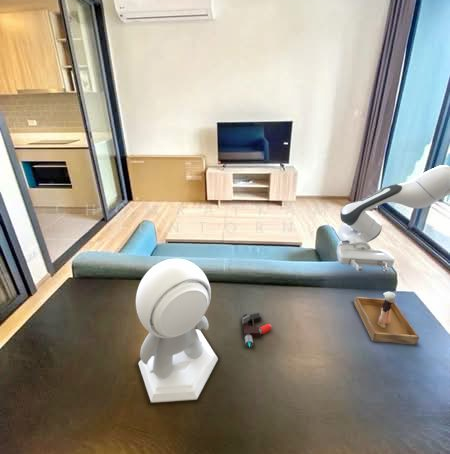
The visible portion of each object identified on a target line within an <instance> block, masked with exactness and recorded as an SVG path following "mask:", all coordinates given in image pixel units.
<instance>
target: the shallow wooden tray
mask: <svg viewBox="0 0 450 454" xmlns="http://www.w3.org/2000/svg"><path fill="white" fill-rule="evenodd" d="M385 300H386V299H385V298H382V297H381V298H380V297H379V298H378V297H367V296H366V297H365V296H355V298H354V301H353V305H354V307H355V308H356V311H357V313H358V314H359V317H360V319H361V321H362V322H363V324H364V327H365V329H366V331H367V333H368V335H369V337H370V339H371V341H372V342H380V343H381V342H382V343H394V344H404V345H405V344H406V345H418V342H419V340H420V336H419V334H418V333H417V332H416V330H415V329H414V327H413V326H412V324H411V323H410V322H409V320H408V319H407V317H406V316H405V314H404V313H403V311H402V310H401V309H400V307H399V306H398V304H397V303H396V302H395V301H396V300H394V302H392V304H391V308H390V312H391V313H390V323H389V324H386V323H385V325H386V328H382V327H381V326H379V325H378V324H377V321H378V320H379V319H378V318H379V317H380V315H381V310H382V305H383V302H384V301H385Z"/></svg>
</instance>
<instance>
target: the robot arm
mask: <svg viewBox="0 0 450 454" xmlns="http://www.w3.org/2000/svg"><path fill="white" fill-rule="evenodd" d="M449 195H450V166H449V165H445V164H444V165H442V164H441V165H438V166H436V167H434V168H431V169H429V170H427V171H425V172H424V173H422V174H420V175H418V176H417V177H415V178H414V179H412V180H410V181H406V182H403V183H399V184H398V183H393V184H390V185H387V186H385V187H383V188H380V189H378V190H376V191H374V192H372V193H370V194H368V195H366V196H364V197H362V198H360V199H357V200H355V201H351V202H349V203H346V204H345V205H344V206H343V207H341V209H340V213H339V216H340V220H341V222H342V224H341V225H339V226H338V229H337V235H338V238H339V241H338V242H337V246H336V258H337V260H338V263H340V264H341V265H346V266H347V265H349V266H351V267H353V268H354V269H355V270H356V271H357V272H363V271H362V270H363V267H381V271H382V272H383V273H386V274H387V273H389V271H390V268H392V267H393V266H394V264H395V258H394V257H393V256H392V255H391V254H390V253H389V252H388V251H387V250H385V249H381V248H371V246H370V244H369V243H370V242H371V241H373V240H375V239H376V238H377V237H378V236H380V234H381V232H382V229H383V225H382V223H381V221H380V220H378V219H377V218H376V217H375V216H374V215H372V214H371V213H370V212H369V211H370V210H371V209H374V208H376V207H378V206H381V205H382V204H383V205H384V204H386V203H394V204H399V205H402V206H405V207H406V208H407V207H408V208H411V209H424V208H427V207H429V206H431V205H433V204H435V203H436V202H438V201H440V200H442V199H444V198H445V197H447V196H449ZM362 266H363V267H362Z"/></svg>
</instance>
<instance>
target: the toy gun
mask: <svg viewBox="0 0 450 454" xmlns="http://www.w3.org/2000/svg"><path fill="white" fill-rule="evenodd" d="M261 320H262V319H261V313H260V312H256V313H252V314H246V313H245V314H243V315H242V318H241V324H242V325H243V326H242V327H243V337H244V345H245V347H249V348H251V347H253V346H254V339H255V338H261V335H264V334H267V333H268V332H271V331H272V325H271V324H270V323H266V324H264V325H262V326H261V327H258V326H255V323H258V322H261ZM249 324H250V325H249Z"/></svg>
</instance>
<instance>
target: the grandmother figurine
mask: <svg viewBox="0 0 450 454" xmlns="http://www.w3.org/2000/svg"><path fill="white" fill-rule="evenodd" d="M383 296H384V299H386V300H385V301H384V302H383V305H382V310H381V315H380V317H379V318H378V319H379V320H378V321H377V324H378V325H379V326H381V327H382V328H386V325H385V323H386V324H389V323H390V313H391V312H390V308H391V304H392V302H394V301H396V300H395V298H396V297H397V295H396V293H394V292H392V291H385V292H383Z"/></svg>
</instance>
